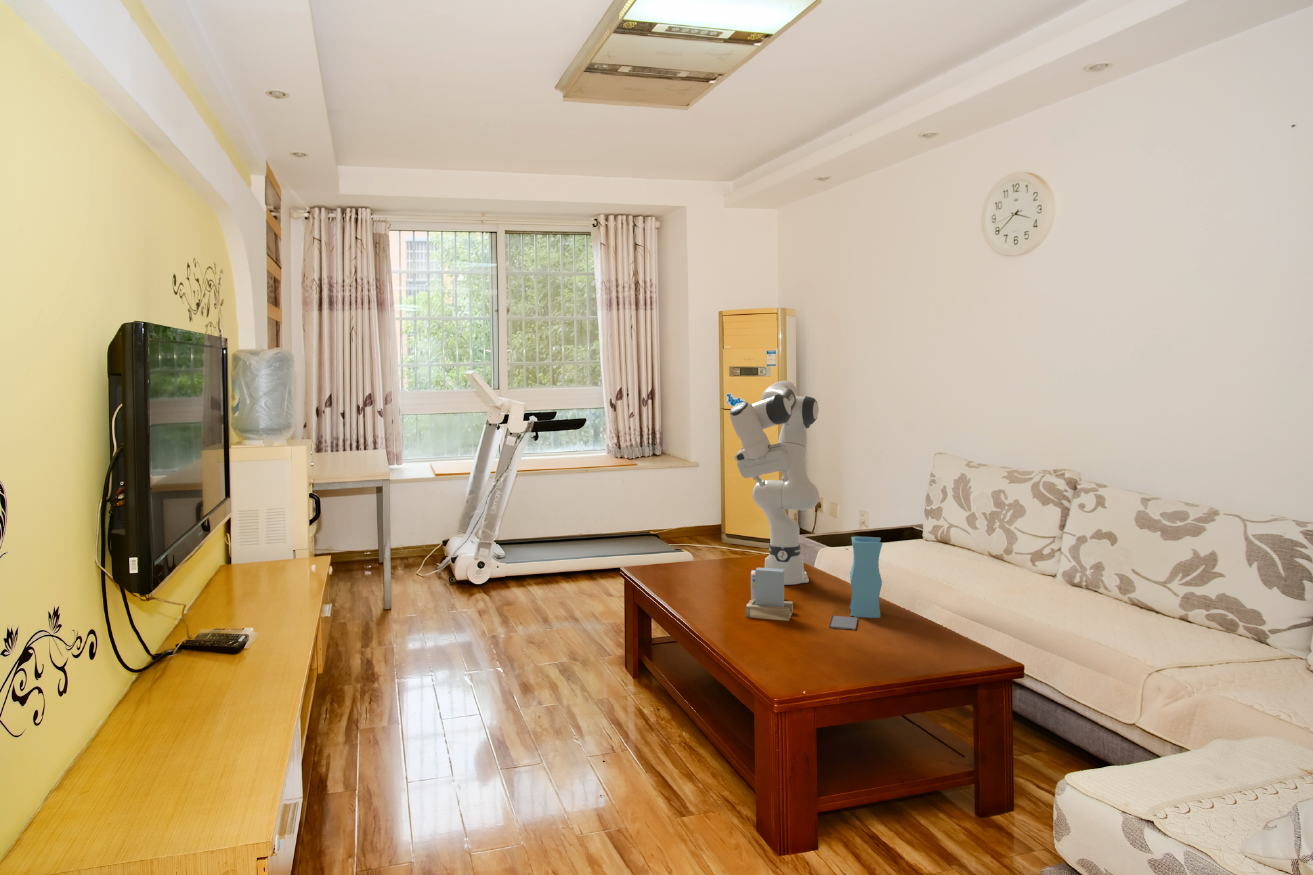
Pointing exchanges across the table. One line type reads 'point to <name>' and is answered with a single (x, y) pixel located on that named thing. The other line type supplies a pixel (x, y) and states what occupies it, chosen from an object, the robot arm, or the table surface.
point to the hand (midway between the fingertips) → (774, 483)
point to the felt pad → (843, 622)
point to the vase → (865, 577)
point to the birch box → (769, 611)
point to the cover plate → (769, 587)
